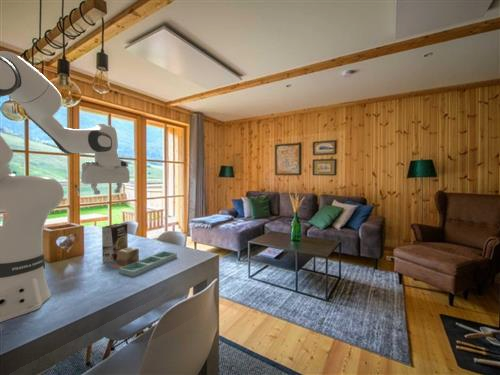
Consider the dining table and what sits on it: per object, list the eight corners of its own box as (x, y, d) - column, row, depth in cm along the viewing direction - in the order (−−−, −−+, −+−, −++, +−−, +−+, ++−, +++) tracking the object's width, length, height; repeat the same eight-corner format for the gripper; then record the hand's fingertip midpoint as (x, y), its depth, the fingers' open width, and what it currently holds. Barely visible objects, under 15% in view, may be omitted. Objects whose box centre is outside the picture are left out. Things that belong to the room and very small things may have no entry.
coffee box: (114, 263, 106) (113, 227, 105) (101, 262, 107) (101, 226, 106) (128, 256, 114) (128, 223, 114) (117, 255, 116) (116, 222, 115)
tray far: (164, 263, 105) (164, 258, 105) (150, 261, 108) (150, 256, 108) (176, 258, 112) (176, 253, 112) (163, 255, 116) (163, 251, 115)
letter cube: (126, 266, 99) (126, 252, 99) (117, 264, 102) (116, 250, 101) (138, 262, 105) (138, 248, 104) (129, 260, 107) (129, 246, 107)
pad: (125, 270, 97) (125, 268, 97) (111, 267, 101) (111, 265, 101) (143, 263, 105) (143, 261, 105) (129, 260, 109) (129, 258, 109)
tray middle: (149, 270, 98) (149, 264, 98) (136, 267, 101) (136, 261, 101) (164, 263, 105) (164, 258, 105) (150, 261, 108) (150, 256, 108)
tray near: (133, 277, 90) (133, 271, 90) (119, 274, 94) (118, 268, 94) (149, 270, 98) (149, 264, 98) (136, 267, 101) (136, 261, 101)
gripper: (86, 160, 94) (87, 195, 94) (131, 163, 112) (132, 192, 113) (77, 161, 96) (78, 195, 97) (122, 163, 115) (122, 192, 116)
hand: (107, 193), depth 105 cm, fingers open, 8 cm apart
